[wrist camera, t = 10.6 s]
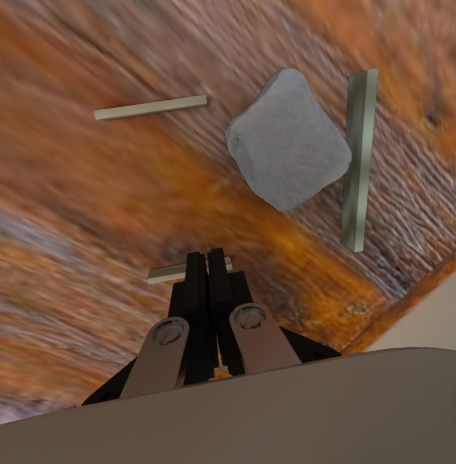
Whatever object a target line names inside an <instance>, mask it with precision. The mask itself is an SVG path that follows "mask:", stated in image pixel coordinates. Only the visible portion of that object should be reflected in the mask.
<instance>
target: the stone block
mask: <svg viewBox="0 0 456 464" xmlns="http://www.w3.org/2000/svg"><path fill="white" fill-rule="evenodd" d="M225 138H226V145H227V147H228V150H229V153H230V154H231V156H232V157H233V158H234V160H235V161H236V163H237V165H238V167H239V170H240V172H241V173H242V175H243V176H244V178H245V180H246V182H247V183H248V185H249V186H250V188H251V189H252V191H253V192H254V193H255V194H256V195H258V196H259V197H261V198H263V199H264V200H265V201H266V202H267V203H270V204H271V205H272V206H273V207H274V208H276V209H277V211H281V212H284V211H289V210H292V209H294V208H295V207H297V206H299V205H300V204H301V203H303V202H304V201H306V200H308V199H309V198H311V197H312V196H314V195H315V194H316V193H318V192H319V191H320V190H321V189H322V188H323V187H325V186H327V185H329V184H330V183H332V182H334V181H336V180H337V179H339V178H340V177H341V176H343V175H344V173H345V172H347V170H348V167H349V163H350V162H351V160H352V153H351V151H350V149H349V146H348V144H347V142H346V141H345V139H344V138H343V136H342V135H341V134H340V132H339V130H338V129H337V127H336V126H335V125H334V123H333V122H332V121H331V120H330V118H329V117H328V116H327V115H326V114H325V112H324V111H323V110H322V108H321V107H320V105H319V104H318V102H317V100H316V98H315V96H314V95H313V94H312V91H311V89H310V86H309V83H308V81H307V80H306V78H305V77H304V75H303V74H302V73H301V72H300V71H298V70H297V69H294V68H284V67H283V68H281V69H280V70H278V71H277V72H276V73H275V74H274V75H272V76H271V77H270V79H269V80H268V81H267V83H266V85H265V87H264V88H263V89H262V91H261V93H260V94H259V95H258V97H257V98H256V100H255V101H254V102H253V103H252V104H251V105H250V106H249V107H248V109H247V110H245V111H243V112H242V113H240V114H239V115H238V116H236V117H235V118H233V119H232V120H231V121H230V123H229V125H228V127H227V129H226V131H225Z"/></svg>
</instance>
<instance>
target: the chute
mask: <svg viewBox="0 0 456 464" xmlns="http://www.w3.org/2000/svg"><path fill="white" fill-rule="evenodd" d="M377 80H378V69H371V70H366V71H364V72H361V73H358V74H355V75H353V76H350V77H349V83H348V105H347V126H346V142H347V144H348V146H349V149H350V151H351V153H352V160H351V162H350V163H349V167H348V170H347V172H345V173H344V190H343V211H342V233H341V242H342V243H343V244H345V245H346V246H347V247H348V248H350V249H351V250H352V251H353V252H359V251H363V242H364V230H365V218H366V207H367V195H368V184H369V172H370V161H371V149H372V137H373V126H374V114H375V103H376V91H377ZM201 106H207V100H206V95H201V96H194V97H187V98H180V99H173V100H166V101H160V102H153V103H146V104H139V105H132V106H125V107H118V108H111V109H104V110H97V111H94V114H95V117H96V120H104V121H105V120H112V119H119V118H126V117H132V116H139V115H146V114H153V113H160V112H167V111H173V110H180V109H187V108H194V107H201ZM224 258H225V263H226V268H227V270H231V269H232V264H231V259H230V256H228V257H224ZM205 261H206V266H207V271H208V260H205ZM185 273H186V264H182V265H177V266H171V267H165V268H159V269H154V270H150V272H149V275H148V277H147V281H148V284H152V283H157V282H163V281H169V280H174V279H180V278H185ZM208 273H209V271H208Z"/></svg>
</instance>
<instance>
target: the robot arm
mask: <svg viewBox="0 0 456 464" xmlns="http://www.w3.org/2000/svg"><path fill="white" fill-rule="evenodd" d="M211 251H212V252H211V253H207V255H208V271H209V276H208V271H207V266H206V261H205V256H204V254H200V253H199V252H193V253H188V254H187V264H186V273H185V281H182V282H176V283H174V285H173V290H172V296H171V301H170V307H169V313H168V318H166V319H163V320H161V321H159V322H158V323H156V324H155V325H154V326H153V327H152V328H151V329H150V331H149V332H148V334H147V337H146V339H145V341H144V343H143V346H142V348H141V350H140V352H139V355H138V356H137V357H136V358H135V359H134V360H133V361H131V362H130V363H129V364H128V365H127V366H125V367H124V368H123V369H122V370H121V371H119V372H118V373H117V374H116V375H114V376H113V377H112V378H111V379H110V380H108V381H107V382H106V383H105V384H104V385H102V386H101V387H100V388H99V389H98V390H96V391H95V392H94V393H93V394H92V395H90V396H89V397H88V398H87V399H86V400H85V401H84V403H83V404H82V405H81V406H80V407H76V405H74V406H71V407H69V408H66V409H64V410H61V411H56V412H51V413H46V414H42V415H38V416H33V417H29V418H25V419H21V420H17V421H13V422H8V423H4V424H0V464H456V350H449V349H441V348H431V347H430V348H428V347H406V348H391V349H383V350H377V351H370V352H349V355H345V356H342V355H341V354H340V353H339V352H337V351H335V350H334V349H332V348H330V347H327V346H325V345H322V344H320V343H318V342H315V341H313V340H311V339H308V338H306V337H304V336H301V335H299V334H297V333H294V332H292V331H290V330H287V329H285V328H283V327H280V326H278V324H277V323H276V321H275V320H274V318H273V316H272V315H271V313H270V312H269V310H268V309H267V308H266V307H264V306H262V305H260V304H256V303H253V301H252V297H251V294H250V291H249V288H248V285H247V281H246V278H245V275H244V272H243V271H239V272H234V273H227V268H226V263H225V258H224V253H223V248H217V249H211ZM216 334H217V336H216ZM217 339H218V344H219V349H220V354H221V359H222V364H223V366H226V365H227V366H228V371H229V373H230V374H231V375H233V376H232V377H227V378H221V379H216V380H211V381H208V380H209V379H210V378H214V368H216V367H219V361H218V349H217Z"/></svg>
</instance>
